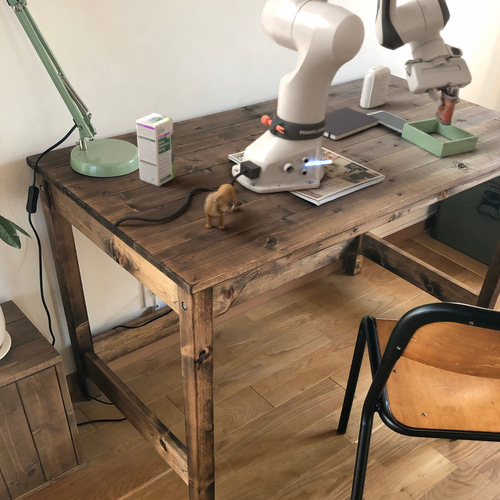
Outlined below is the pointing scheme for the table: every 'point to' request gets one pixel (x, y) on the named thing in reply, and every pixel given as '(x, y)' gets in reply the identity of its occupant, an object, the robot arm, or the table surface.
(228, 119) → the table surface
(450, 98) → the lighter
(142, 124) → the syrup box
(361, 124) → the notebook
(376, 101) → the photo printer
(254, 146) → the robot arm
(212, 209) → the tan animal figure
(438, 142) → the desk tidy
